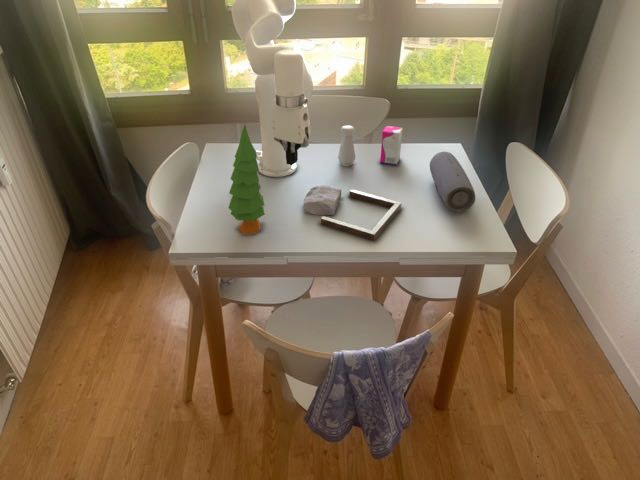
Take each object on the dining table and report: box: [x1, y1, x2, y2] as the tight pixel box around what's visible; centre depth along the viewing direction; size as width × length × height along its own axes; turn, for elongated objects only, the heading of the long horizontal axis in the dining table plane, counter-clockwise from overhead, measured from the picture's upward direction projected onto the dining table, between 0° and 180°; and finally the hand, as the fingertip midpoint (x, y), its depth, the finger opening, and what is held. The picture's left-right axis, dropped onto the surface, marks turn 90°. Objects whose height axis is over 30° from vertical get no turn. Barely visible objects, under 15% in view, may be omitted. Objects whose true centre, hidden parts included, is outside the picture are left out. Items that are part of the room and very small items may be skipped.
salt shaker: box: [337, 125, 356, 167], centre depth 163 cm, size 6×6×13 cm
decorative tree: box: [227, 124, 266, 236], centre depth 125 cm, size 10×9×30 cm
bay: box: [320, 188, 402, 242], centre depth 139 cm, size 16×19×2 cm
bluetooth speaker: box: [429, 151, 476, 213], centre depth 146 cm, size 23×9×10 cm, turn 1°
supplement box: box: [379, 125, 404, 166], centre depth 165 cm, size 6×6×12 cm
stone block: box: [303, 185, 342, 216], centre depth 144 cm, size 12×5×10 cm
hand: (291, 162), depth 142 cm, fingers closed
